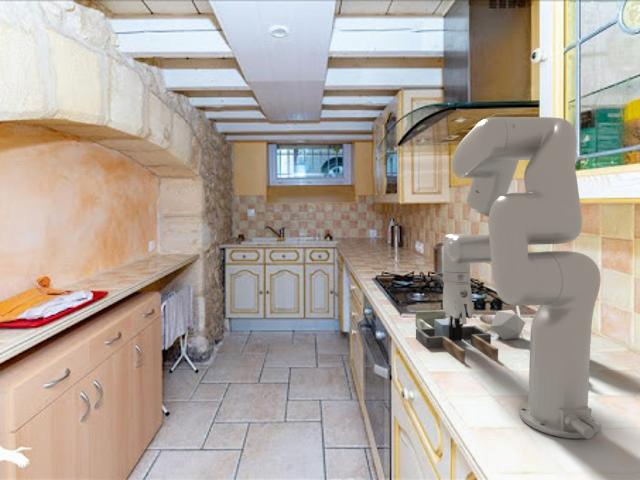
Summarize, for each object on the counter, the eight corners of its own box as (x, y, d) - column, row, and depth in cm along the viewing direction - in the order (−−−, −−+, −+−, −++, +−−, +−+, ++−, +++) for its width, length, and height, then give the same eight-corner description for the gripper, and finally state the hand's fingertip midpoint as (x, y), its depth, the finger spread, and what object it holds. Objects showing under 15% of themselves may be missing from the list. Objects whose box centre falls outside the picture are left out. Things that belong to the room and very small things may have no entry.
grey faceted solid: (511, 334, 132) (491, 308, 133) (535, 326, 125) (514, 299, 126) (500, 349, 126) (480, 322, 127) (525, 342, 119) (503, 314, 120)
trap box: (514, 359, 108) (514, 340, 108) (444, 363, 106) (444, 344, 106) (456, 324, 141) (457, 309, 141) (402, 326, 139) (402, 311, 138)
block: (461, 340, 124) (461, 324, 123) (442, 341, 123) (442, 324, 123) (452, 334, 130) (453, 318, 129) (434, 335, 129) (434, 319, 129)
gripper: (482, 281, 113) (480, 347, 114) (457, 272, 127) (456, 331, 129) (455, 282, 112) (454, 349, 113) (433, 273, 126) (432, 332, 128)
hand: (455, 339), depth 121 cm, fingers closed
